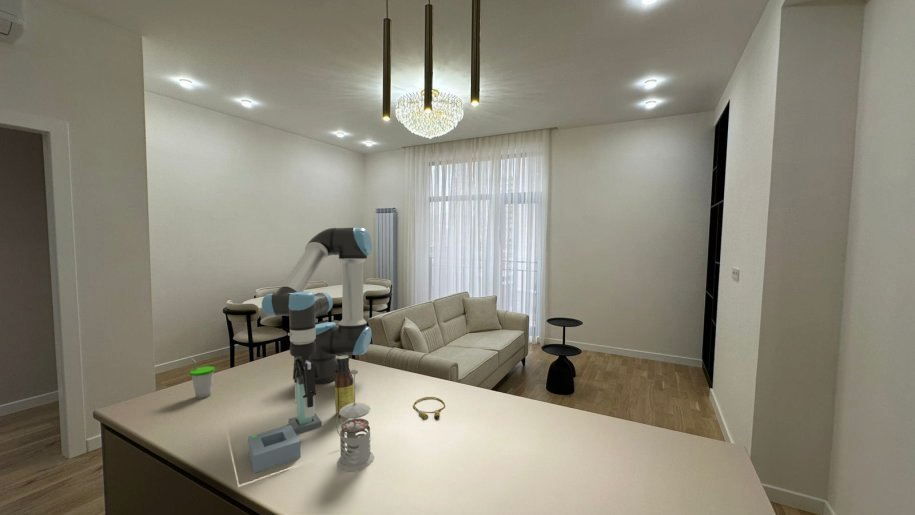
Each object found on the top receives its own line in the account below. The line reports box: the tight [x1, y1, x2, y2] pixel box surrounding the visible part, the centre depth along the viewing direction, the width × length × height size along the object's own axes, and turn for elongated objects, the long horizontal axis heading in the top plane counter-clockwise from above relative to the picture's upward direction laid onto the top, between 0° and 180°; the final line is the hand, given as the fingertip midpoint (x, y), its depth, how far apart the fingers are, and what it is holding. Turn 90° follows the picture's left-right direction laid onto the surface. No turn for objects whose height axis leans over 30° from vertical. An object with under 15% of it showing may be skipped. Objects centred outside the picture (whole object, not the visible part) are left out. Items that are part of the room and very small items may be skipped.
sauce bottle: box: [334, 354, 354, 418], centre depth 122 cm, size 7×6×20 cm
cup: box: [189, 357, 216, 400], centre depth 137 cm, size 8×8×15 cm
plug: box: [296, 376, 312, 425], centre depth 115 cm, size 4×4×16 cm
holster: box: [287, 411, 322, 435], centre depth 115 cm, size 8×8×2 cm
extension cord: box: [412, 396, 446, 420], centre depth 127 cm, size 12×16×2 cm
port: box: [247, 424, 301, 474], centre depth 99 cm, size 11×11×5 cm
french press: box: [335, 368, 375, 472], centre depth 97 cm, size 10×12×25 cm
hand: (304, 409), depth 115 cm, fingers open, 11 cm apart
